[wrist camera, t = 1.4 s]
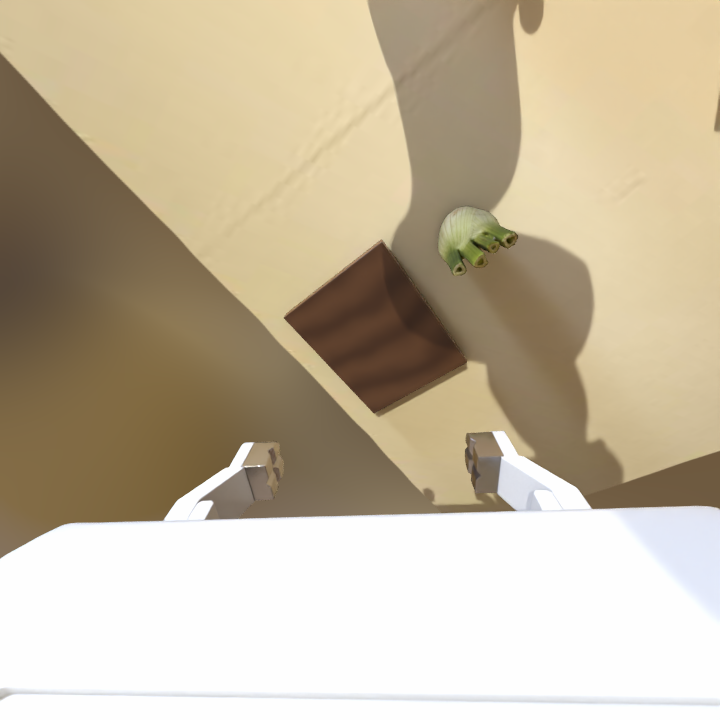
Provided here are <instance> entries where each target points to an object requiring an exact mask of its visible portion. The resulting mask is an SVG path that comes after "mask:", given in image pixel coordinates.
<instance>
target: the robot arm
mask: <svg viewBox="0 0 720 720" xmlns="http://www.w3.org/2000/svg"><path fill="white" fill-rule="evenodd" d="M466 444H467V446H468V447H467V448H466V449H465V462H466V467H467V470H468V472H469V473H470V474H471V481H472V484H473V487H474V490H475V493H497V494H498V495H499V496H500V497H501V498H503V499H504V500H505V501H506V502H507V503H508V504H509V505H510V506H511V507H512V508H514V509H515V510H516V511H504V512H469V513H434V514H433V513H432V514H397V515H362V516H324V517H290V518H289V517H287V518H251V519H238V518H239V517H240V516H241V515H242V514H243V513H244V512H245V511H246V510H247V509H248V508H249V507H250V506H251V505H252V504H253V503H254V501H255V500H272V499H274V498H275V496H276V493H277V490H278V483H277V482H278V481H280V480H281V479H282V475H283V469H284V464H283V458H282V457H281V456H280V455H279V452H280V446H279V443H278V442H255V443H254V442H251V443H244V444H242V446H241V447H240V449H239V451H238V453H237V454H236V456H235V458H234V460H233V462H232V463H231V465H230V467H229V468H225V469H223V470H222V471H220V472H219V473H218V474H216V475H214V476H213V477H212V478H210V479H209V480H207V481H206V482H204V483H203V484H201V485H200V486H198V487H197V488H195V489H194V490H193V491H191V492H189V493H188V494H186V495H185V496H183V497H182V498H181V499H179V500H178V501H177V502H176V503H175V505H174V506H173V508H172V509H171V510H170V512H169V513H168V515H167V516H166V518H165V519H164V521H141V522H106V523H72V524H65V525H63V526H60V527H58V528H56V529H54V530H52V531H50V532H48V533H46V534H43V535H42V536H40V537H38V538H36V539H34V540H32V541H30V542H29V543H27V544H25V545H23V546H21V547H20V548H18V549H16V550H14V551H12V552H10V553H9V554H7V555H5V556H4V557H2V558H1V559H0V720H720V509H718V508H713V507H708V506H681V507H648V508H614V509H592V508H591V507H590V505H589V504H588V502H587V501H586V500H585V498H584V497H583V495H582V494H581V493H580V491H579V490H578V488H576V487H575V486H573V485H571V484H569V483H568V482H566V481H564V480H563V479H561V478H559V477H557V476H556V475H554V474H552V473H551V472H549V471H547V470H545V469H544V468H542V467H540V466H539V465H537V464H535V463H534V462H532V461H530V460H528V459H527V458H525V457H523V456H519V455H518V454H517V452H516V450H515V448H514V447H513V445H512V443H511V442H510V440H509V438H508V436H507V435H506V433H505V432H504V431H492V432H480V433H467V434H466Z"/></svg>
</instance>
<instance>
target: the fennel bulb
mask: <svg viewBox="0 0 720 720" xmlns="http://www.w3.org/2000/svg"><path fill="white" fill-rule="evenodd" d="M517 239H518V235H517V234H516V233H515V232H513V231H510V230H508V229H505V228H503V227H501V226H500V225H499V223H498V221H497V219H496V218H495V217H494V216H493V215H492V214H491V213H489V212H488V211H485V210H482V209H476V208H473V207H470V206H463V207H460V208H457V209H455V210H453V211H452V212H451V213H449V214H448V215H447V217H446V218H445V219H444V221H443V222H442V225H441V228H440V231H439V239H438V250H439V253H440V256H441V257H442V258H443V260H444V261H445V262H446V263H447V264H448V265H449V267H450V269H451V272H452V274H453V275H454V276H458V275H463V274H465V273H466V271H467V270H466V267H465V265H464V263H463V261H462V260H463V259H465V258H466V259H467V260H468V261H469V262H470V263H471V264H472V265H473V266H474V267H475V268H482V267H485V266H486V265H487V264H488V261H487V258H486V257H485V254H484V253H483V252H482V251H481V250H480V249H481V248H482V249H484V250H486V251H488V252H490V253H493V254H494V253H496V252H497V251H498V249H499V247H500V246H499V245H501V246H503V247H505V248H507V249H508V248H510V247H511V246H513V245H515V243H516V241H517Z"/></svg>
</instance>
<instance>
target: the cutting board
mask: <svg viewBox="0 0 720 720" xmlns="http://www.w3.org/2000/svg"><path fill="white" fill-rule="evenodd" d="M284 319H285V320H286V321H287V322H288V323H289V324H290V325H291V326H292V327H293V328H294V329H295V330H296V331H297V332H298V334H299V335H300V336H301V337H302V338H303V339H304V340H305V341H306V342H307V343H308V344H309V345H310V346H311V347H312V348H313V349H314V350H315V352H316V353H317V354H318V355H319V356H320V357H321V358H322V359H323V360H324V361H325V362H326V363H327V364H328V365H329V366H330V367H331V368H332V370H333V371H334V372H335V373H336V374H337V375H338V376H339V377H340V378H341V379H342V380H343V381H344V382H345V383H346V384H347V385H348V386H349V388H350V389H351V390H352V391H353V392H354V393H355V394H356V395H357V396H358V397H359V398H360V399H361V400H362V401H363V402H364V403H365V404H366V406H367V407H368V408H369V409H370V410H371V411H372V412H373V413H376V412H377V411H379V410H381V409H383V408H385V407H387V406H388V405H390V404H392V403H394V402H396V401H397V400H399V399H401V398H403V397H405V396H407V395H408V394H410V393H412V392H414V391H416V390H417V389H419V388H421V387H423V386H425V385H427V384H428V383H430V382H432V381H434V380H436V379H437V378H439V377H441V376H443V375H445V374H447V373H448V372H450V371H452V370H454V369H456V368H458V367H459V366H461V365H463V364H465V363H467V361H466V358H465V356H464V355H463V353H462V352H461V350H460V349H459V348H458V346H457V345H456V343H455V342H454V341H453V339H452V338H451V336H450V335H449V333H448V332H447V331H446V329H445V328H444V326H443V325H442V324H441V322H440V321H439V319H438V318H437V317H436V315H435V314H434V312H433V311H432V309H431V308H430V307H429V305H428V304H427V302H426V301H425V300H424V298H423V297H422V295H421V294H420V293H419V291H418V290H417V288H416V287H415V285H414V284H413V283H412V281H411V280H410V278H409V277H408V276H407V274H406V273H405V271H404V270H403V268H402V267H401V266H400V264H399V263H398V261H397V260H396V259H395V257H394V256H393V254H392V253H391V252H390V250H389V249H388V247H387V246H386V244H385V243H384V242H383V240H380V241H379V242H378V243H376V244H375V245H374V246H372V247H371V248H370V249H369V250H367V251H366V252H365V253H363V254H362V255H361V256H360V257H358V258H357V259H356V260H354V261H353V262H352V263H351V264H349V265H348V266H347V267H345V268H344V269H343V270H342V271H340V272H339V273H338V274H336V275H335V276H334V277H333V278H331V279H330V280H329V281H327V282H326V283H325V284H324V285H322V286H321V287H320V288H318V289H317V290H316V291H315V292H313V293H312V294H311V295H309V296H308V297H307V298H306V299H304V300H303V301H302V302H300V303H299V304H298V305H297V306H295V307H294V308H293V309H291V310H290V311H289V312H288V313H286V315H285V317H284Z"/></svg>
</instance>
